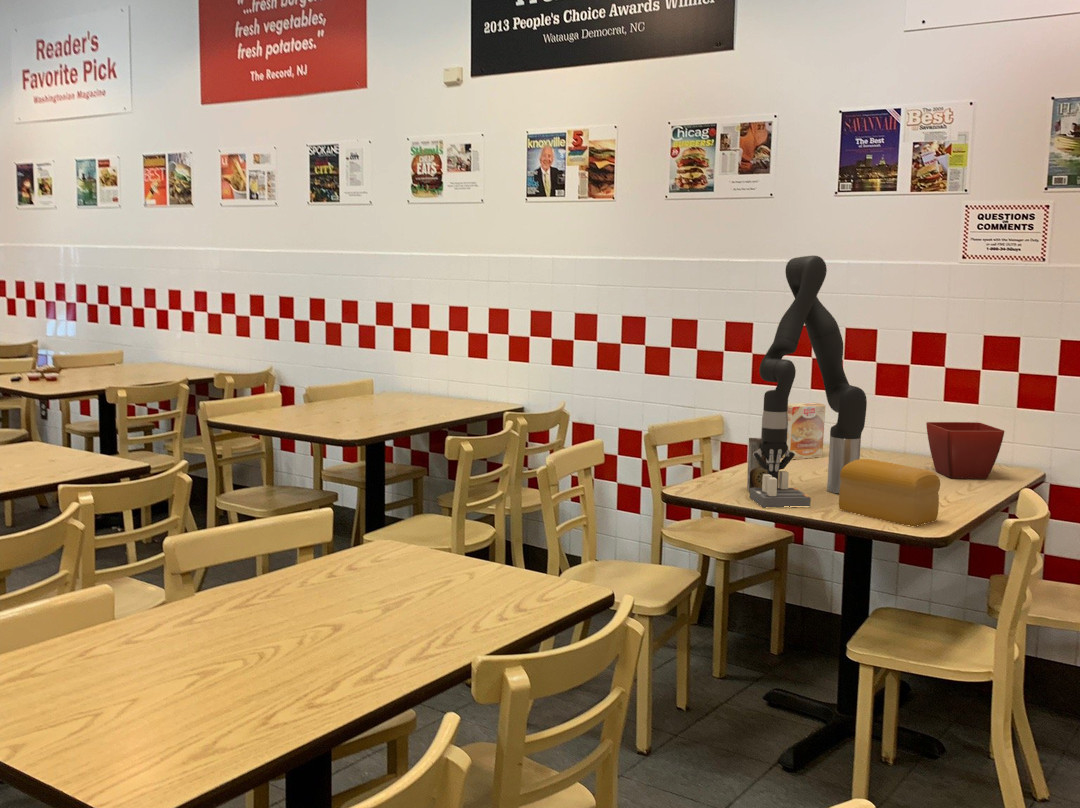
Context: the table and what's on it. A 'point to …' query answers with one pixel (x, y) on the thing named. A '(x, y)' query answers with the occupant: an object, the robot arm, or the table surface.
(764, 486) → the tab
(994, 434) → the plant pot
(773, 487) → the tab
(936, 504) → the bread
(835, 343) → the robot arm
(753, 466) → the coffee box
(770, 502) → the switch panel
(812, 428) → the coffeecake box
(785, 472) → the tab
